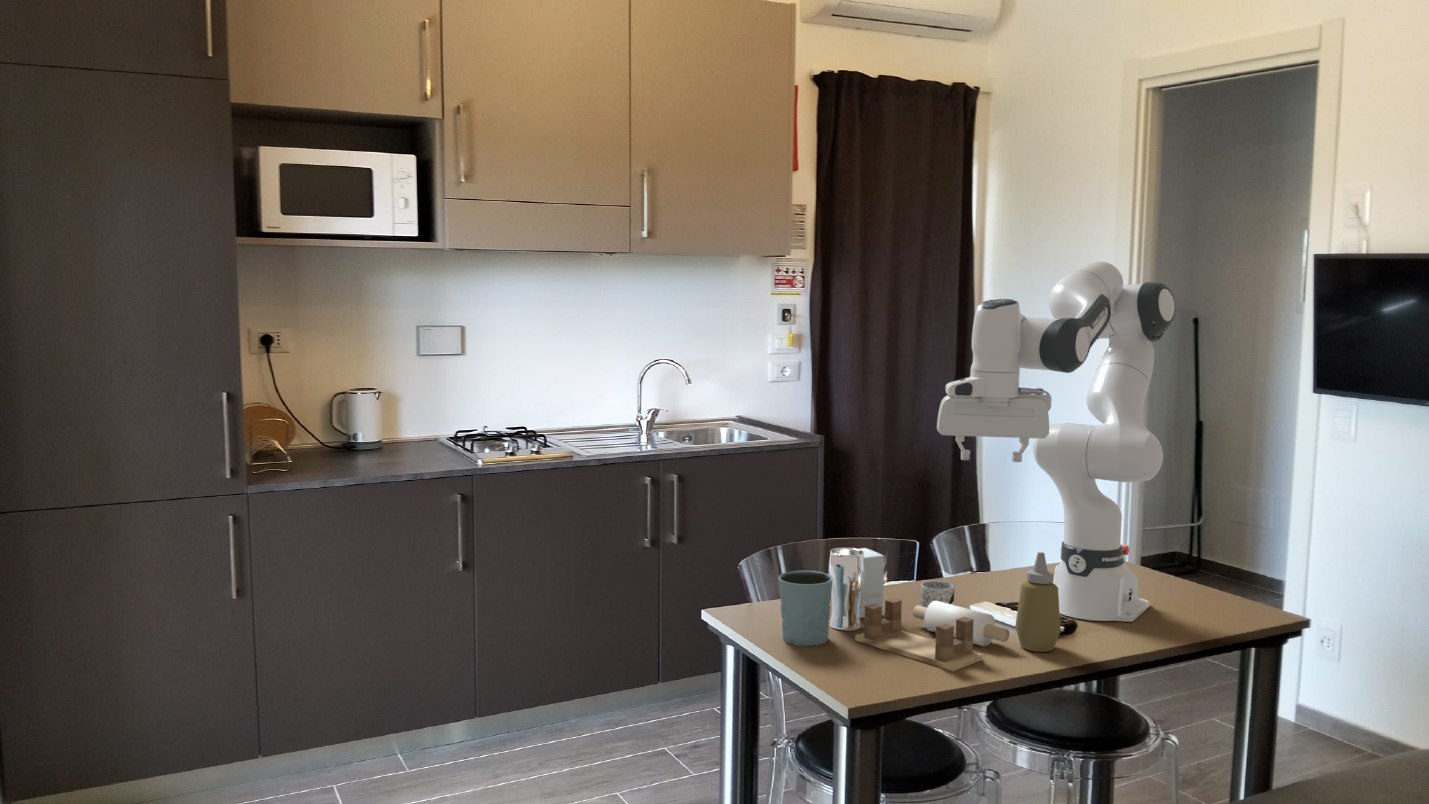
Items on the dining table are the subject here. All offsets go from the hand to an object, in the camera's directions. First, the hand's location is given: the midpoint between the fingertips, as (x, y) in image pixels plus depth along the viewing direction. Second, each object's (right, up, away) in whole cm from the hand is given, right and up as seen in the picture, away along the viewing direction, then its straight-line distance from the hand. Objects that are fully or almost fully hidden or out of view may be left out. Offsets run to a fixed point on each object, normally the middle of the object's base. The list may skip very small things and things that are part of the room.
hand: (991, 460), depth 197 cm
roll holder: (-14, -35, -3) cm, 38 cm away
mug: (-6, -33, +20) cm, 39 cm away
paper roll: (-5, -34, +5) cm, 35 cm away
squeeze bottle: (+8, -35, -1) cm, 36 cm away
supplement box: (-22, -33, +20) cm, 44 cm away
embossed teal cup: (-35, -34, +3) cm, 49 cm away
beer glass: (-26, -33, +11) cm, 44 cm away
